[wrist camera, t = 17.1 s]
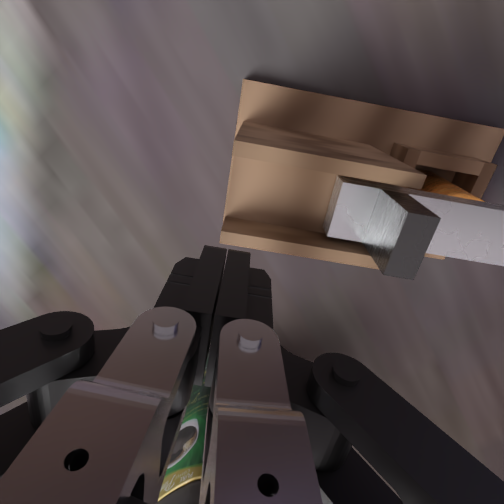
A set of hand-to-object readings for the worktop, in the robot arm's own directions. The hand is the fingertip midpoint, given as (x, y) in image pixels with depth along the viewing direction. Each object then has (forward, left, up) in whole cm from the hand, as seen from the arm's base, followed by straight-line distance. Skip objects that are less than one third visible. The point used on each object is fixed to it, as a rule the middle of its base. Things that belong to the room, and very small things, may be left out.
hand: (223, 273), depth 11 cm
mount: (-10, 0, -20) cm, 23 cm away
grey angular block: (-12, 0, -11) cm, 16 cm away
